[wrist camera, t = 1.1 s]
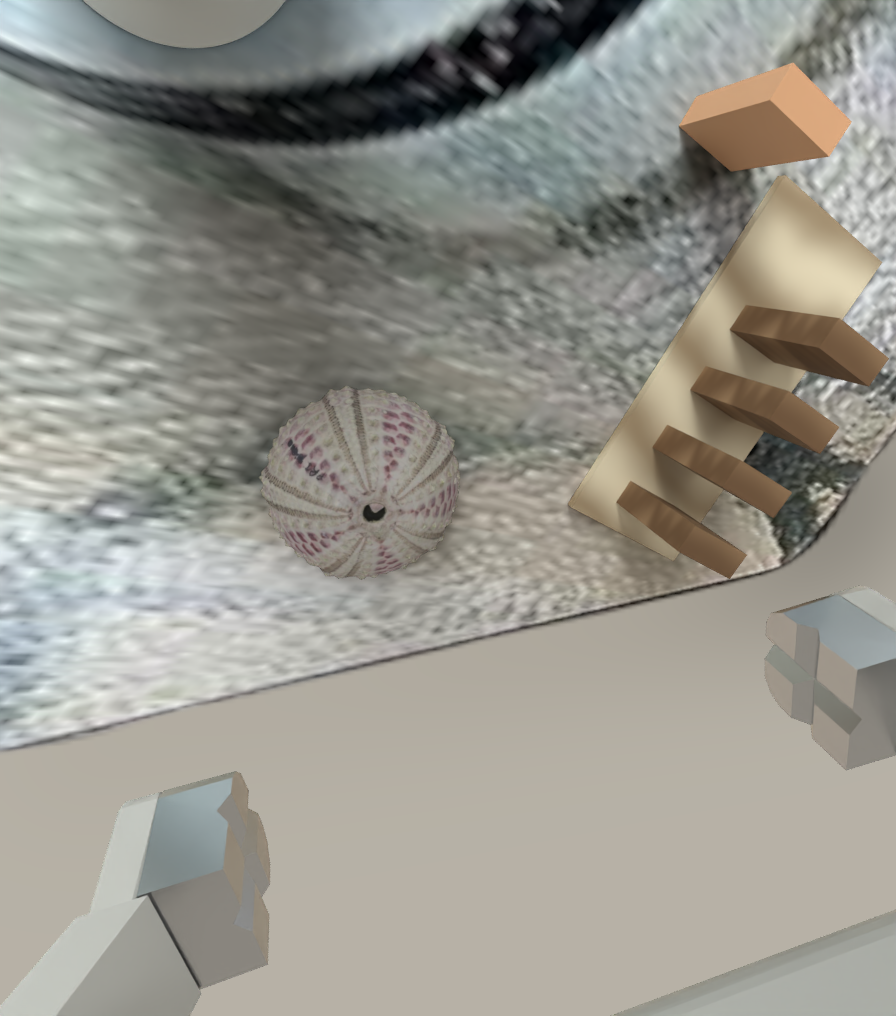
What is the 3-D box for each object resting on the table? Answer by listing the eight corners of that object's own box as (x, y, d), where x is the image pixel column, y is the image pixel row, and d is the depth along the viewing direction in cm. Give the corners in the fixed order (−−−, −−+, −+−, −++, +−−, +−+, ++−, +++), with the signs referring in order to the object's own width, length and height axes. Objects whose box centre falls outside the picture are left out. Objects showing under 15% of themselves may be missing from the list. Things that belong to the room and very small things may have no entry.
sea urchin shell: (292, 577, 49) (293, 636, 42) (237, 401, 44) (227, 433, 36) (464, 532, 51) (493, 581, 44) (432, 358, 45) (459, 380, 38)
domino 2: (745, 304, 48) (839, 318, 40) (790, 339, 50) (888, 358, 42) (729, 329, 48) (818, 347, 40) (774, 362, 50) (868, 386, 42)
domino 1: (696, 96, 43) (792, 62, 35) (748, 143, 45) (851, 121, 37) (678, 126, 43) (769, 99, 35) (730, 171, 45) (829, 156, 37)
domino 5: (630, 480, 51) (695, 525, 43) (676, 506, 53) (747, 554, 45) (616, 502, 52) (677, 551, 44) (662, 527, 54) (729, 578, 45)
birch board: (777, 176, 46) (785, 175, 45) (873, 262, 50) (882, 262, 49) (567, 504, 52) (571, 507, 51) (668, 557, 56) (673, 561, 55)
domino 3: (705, 366, 49) (789, 390, 41) (750, 397, 51) (839, 427, 43) (690, 389, 50) (769, 418, 41) (735, 420, 51) (819, 453, 43)
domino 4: (667, 424, 50) (741, 460, 42) (712, 453, 52) (791, 492, 44) (652, 447, 51) (722, 486, 42) (698, 474, 52) (773, 517, 44)
